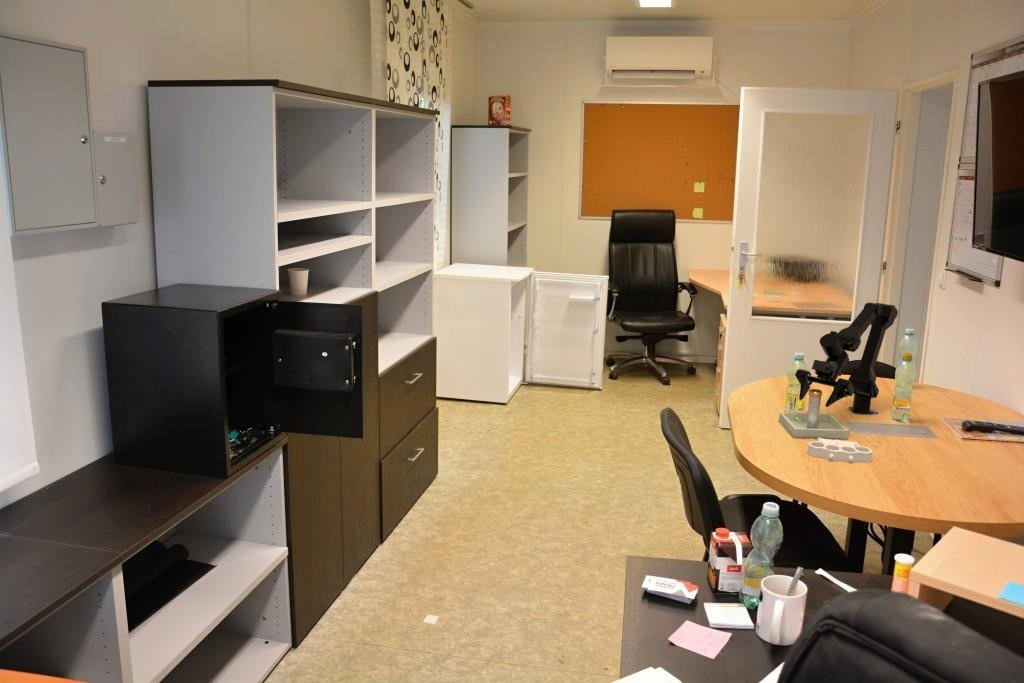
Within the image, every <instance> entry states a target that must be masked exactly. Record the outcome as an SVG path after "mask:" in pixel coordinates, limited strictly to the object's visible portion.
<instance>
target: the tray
mask: <svg viewBox="0 0 1024 683" xmlns="http://www.w3.org/2000/svg"><path fill="white" fill-rule="evenodd" d="M796 417H797V418H799V420H801V421H793V420H796ZM807 417H808V412H782V411H781V412H779V418H778V422H781V423H782V424H783V425H782V424H781V423H780V424H781V425H782V426H783V428H785V430H786V429H787V430H788V431H787V430H786V431H787V432H788V433H789V434H790V436H791V437H792V438H793V439H810V438H813V440H814V439H815V440H817V438H822V439H831V440H843V439H849V432H850V431H849V429H848V428H846V427H845V426H844V425H843V424H842V423H841V422H840V421H839V420H838V419H837V418H835V416H833V415H832V414H831V413H820V414H819V426H818V429H807Z"/></svg>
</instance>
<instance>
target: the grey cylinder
mask: <svg viewBox="0 0 1024 683" xmlns="http://www.w3.org/2000/svg"><path fill="white" fill-rule="evenodd" d="M822 396H823V391H822V390H820V389H818V388H810V389H809V391H808V404H807V405H808V407H807V413H808V417H807V429H818V426H819V414H821V413H820V412H821V403H822V402H821V401H822Z"/></svg>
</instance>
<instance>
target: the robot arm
mask: <svg viewBox="0 0 1024 683" xmlns="http://www.w3.org/2000/svg"><path fill="white" fill-rule="evenodd" d="M898 313H899V311H898V309H897V307H896V306H895V305H893V304H888V303H887V304H886V303H880V302H870V301H869V302H866V303H865V304H864V306H863V309H862V310H861V311H860V312H859V314H857V316H856V317H855V318H854V320H853V321H852V322H851V323H850V325H849V326H847V327H845V328H842V329H840V330H839V331H835V330H830V332H828V333H826V334H824V335H822V336H821V337H820V339H819V344H820V347H821V348H822V350H823V352H824V354H825V355H826V356H827V357H826V360H818V359H814V361H813V363H812V367H811V369H812V370H813V371H814V373H815V375H812V374H811V372H810V371H809V370H807V369H801V368H799V369H797V370H796V371H795V374H794V376H795V378H796V379H797V381H798V383H799V384H800V389H799V390H800V391H799V396H798V397H799V398H798V399H799V400H800V401H802V400H803V399H804V398H805V396H806V395H807V393H809V390H811V389H812V388H811V385H813V383H815V384H820V385H823V386H828V387H833V390H832V392H831V393H830V395H829V397H828V399H827V401H826V402H825V405H824V406H825V407H826V408H829V407H830V406H832V405H833V404H834V403H836V402H838V401H839V400H842V399H843V398H848V396H849V397H853V400H852V406H848V409H849V410H850V411H851V412H852V413H854V414H863V415H864V414H865V415H867V414H869V415H873V414H874V411H873V410H871V405H872V399H877V398H878V396H879V393H880V390H879V387H878V385H877V383H876V381H877V376H876V372H875V367H876V363H877V360H878V357H879V354H880V350H881V348H882V345H883V344H882V343H883V340H884V337H885V334H886V330H888V329H890V327H891V326H893V325H894V322H895V320H896V318H897V317H898ZM870 325H871V327H870V329H869V326H870ZM867 329H869V333H868V336H867V340H866V341H865V342H866V343H865V346H864V349H863V352H862V356H861V358H860V359H861V360H860V362H859V365H858V366H856V367H855V368H852V369H851V371H850V376H849V378H848V379H846V378H838V377H841V376H842V370H843V368H844V366H845V364H846V363H850V358H849V354H848V353H847V352H851V353H855V352H856V351H857V350H859V348H860V346H861V344H862V340H861V338H862V336H863V334H864V333H865V332H866V331H867ZM872 413H873V414H872Z"/></svg>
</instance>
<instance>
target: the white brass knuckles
mask: <svg viewBox="0 0 1024 683" xmlns="http://www.w3.org/2000/svg"><path fill="white" fill-rule="evenodd" d="M806 453H807V455H809V456H811V457H813V458H821V459H826V460H829V461H833V462H843V463H858V462H859V463H865V464H866V463H870V462H872V459H873V449H872V448H870V447H867V446H863V445H860V444H859V442H858V441H850V440H849V441H847V440H841V439H822V438H817V439H816V441H815V440H813V441H812V440H811V441H810V442H808V443H807V452H806Z"/></svg>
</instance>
